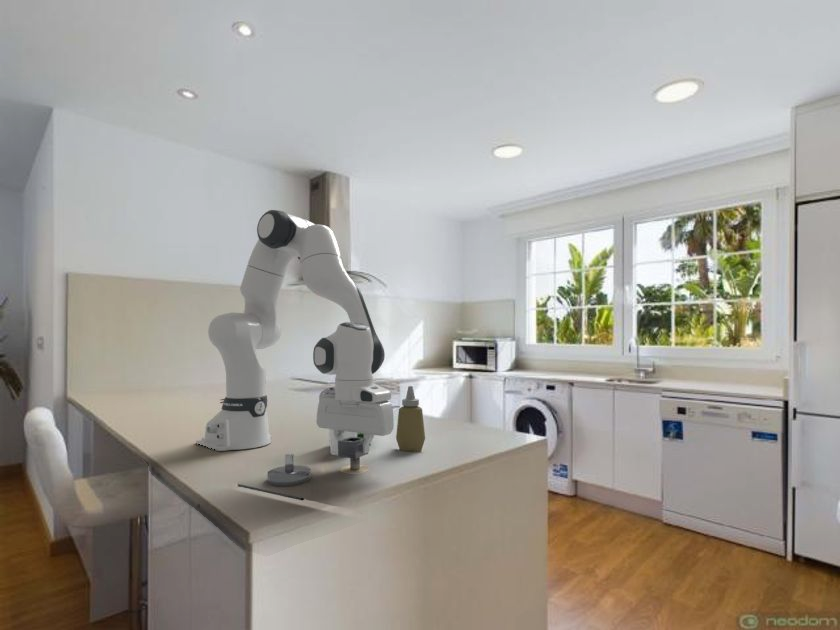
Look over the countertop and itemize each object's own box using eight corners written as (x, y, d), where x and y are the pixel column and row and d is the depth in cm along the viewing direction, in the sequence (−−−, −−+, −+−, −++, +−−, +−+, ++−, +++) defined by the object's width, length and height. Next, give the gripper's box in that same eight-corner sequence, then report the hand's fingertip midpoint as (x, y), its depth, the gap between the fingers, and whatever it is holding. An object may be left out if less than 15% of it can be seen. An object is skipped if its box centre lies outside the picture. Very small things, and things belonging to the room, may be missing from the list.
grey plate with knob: (237, 486, 97) (238, 456, 97) (279, 471, 107) (279, 444, 108) (301, 500, 88) (301, 467, 89) (339, 482, 99) (339, 453, 99)
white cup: (352, 460, 116) (352, 421, 117) (323, 459, 118) (323, 420, 118) (362, 452, 124) (362, 416, 124) (335, 451, 126) (335, 415, 126)
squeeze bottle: (391, 453, 123) (391, 387, 123) (403, 447, 130) (403, 384, 131) (418, 456, 120) (418, 388, 120) (429, 449, 127) (429, 385, 128)
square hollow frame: (338, 456, 105) (337, 440, 105) (351, 451, 109) (351, 436, 109) (355, 458, 102) (355, 442, 102) (368, 453, 107) (368, 438, 107)
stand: (333, 475, 104) (333, 459, 104) (351, 467, 110) (351, 452, 110) (358, 479, 101) (358, 463, 101) (375, 471, 107) (375, 456, 107)
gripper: (311, 389, 109) (310, 448, 108) (382, 395, 99) (381, 459, 98) (328, 387, 114) (327, 442, 113) (397, 392, 104) (397, 453, 104)
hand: (353, 450), depth 106 cm, fingers closed on square hollow frame, 5 cm apart
